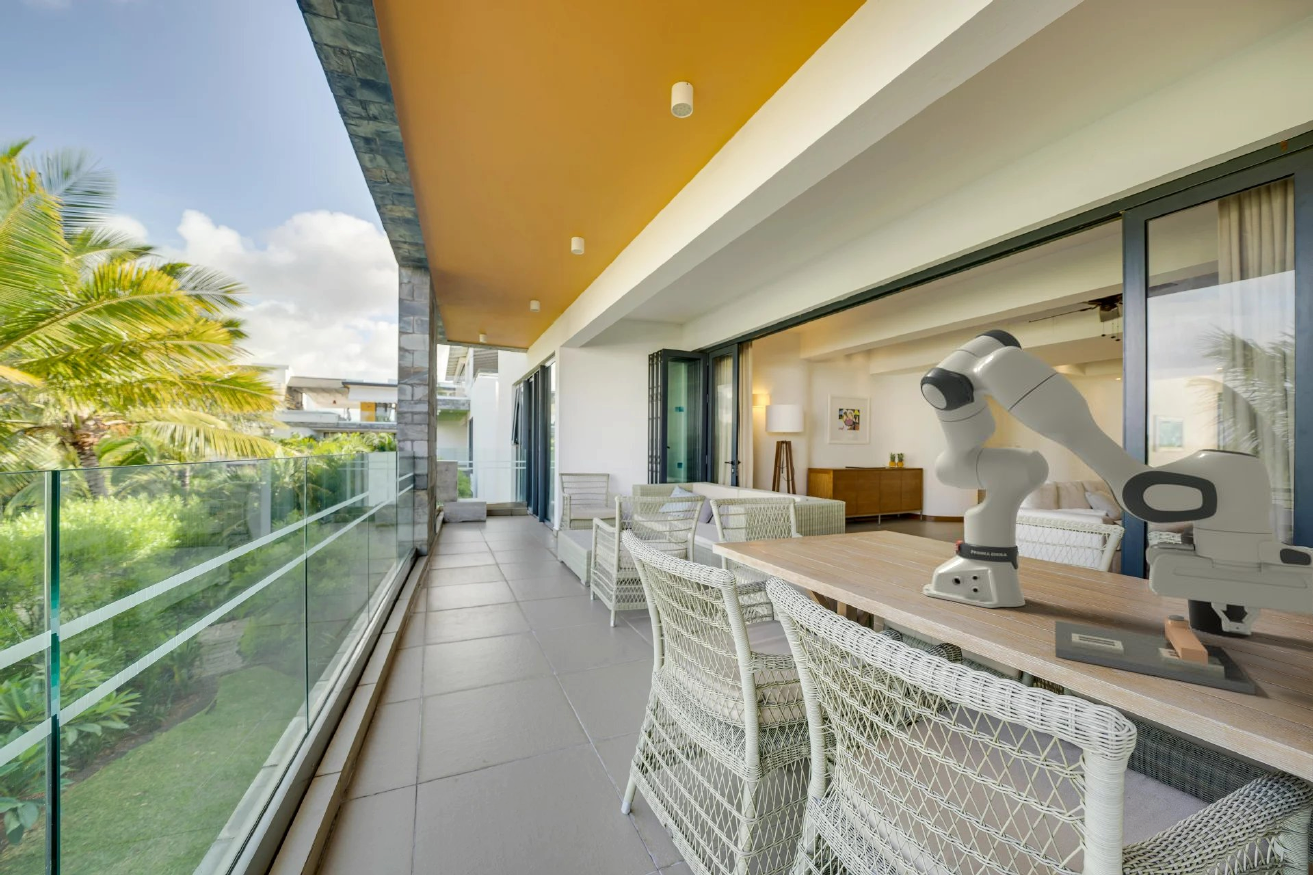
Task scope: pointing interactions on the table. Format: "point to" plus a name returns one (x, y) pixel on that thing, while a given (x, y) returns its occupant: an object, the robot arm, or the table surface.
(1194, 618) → the water bottle
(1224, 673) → the label panel
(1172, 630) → the swing bar
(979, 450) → the robot arm
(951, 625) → the table surface
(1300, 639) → the table surface
